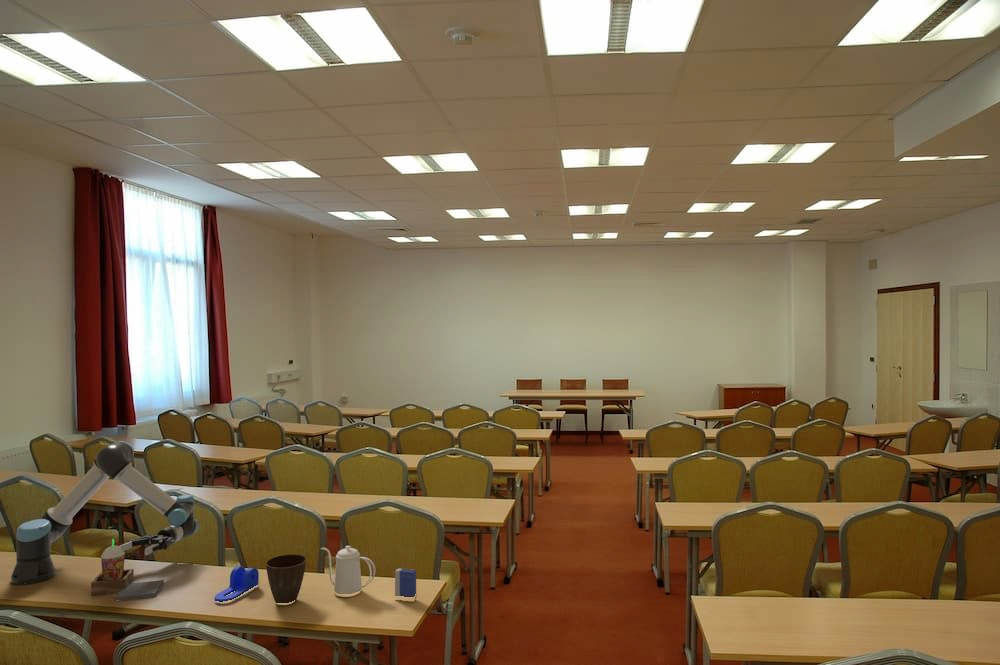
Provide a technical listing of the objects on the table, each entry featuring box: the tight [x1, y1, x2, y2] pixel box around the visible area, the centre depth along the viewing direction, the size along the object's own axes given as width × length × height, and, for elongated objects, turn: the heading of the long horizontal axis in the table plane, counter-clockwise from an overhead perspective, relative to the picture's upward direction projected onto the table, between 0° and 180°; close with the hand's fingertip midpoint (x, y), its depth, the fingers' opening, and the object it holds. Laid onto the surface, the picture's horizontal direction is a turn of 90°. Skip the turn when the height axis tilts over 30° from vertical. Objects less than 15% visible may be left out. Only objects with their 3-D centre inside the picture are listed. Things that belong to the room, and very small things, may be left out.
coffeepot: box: [320, 545, 376, 594], centre depth 247 cm, size 11×25×19 cm, turn 73°
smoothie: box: [100, 538, 126, 581], centre depth 252 cm, size 8×8×20 cm
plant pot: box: [265, 553, 307, 604], centre depth 238 cm, size 15×15×16 cm
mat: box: [114, 579, 165, 602], centre depth 247 cm, size 14×14×2 cm
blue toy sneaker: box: [214, 565, 260, 602], centre depth 245 cm, size 18×8×9 cm, turn 164°
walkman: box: [394, 567, 417, 597], centre depth 239 cm, size 8×3×12 cm, turn 74°
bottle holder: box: [90, 568, 135, 596], centre depth 252 cm, size 12×12×5 cm
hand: (132, 550), depth 261 cm, fingers open, 13 cm apart
